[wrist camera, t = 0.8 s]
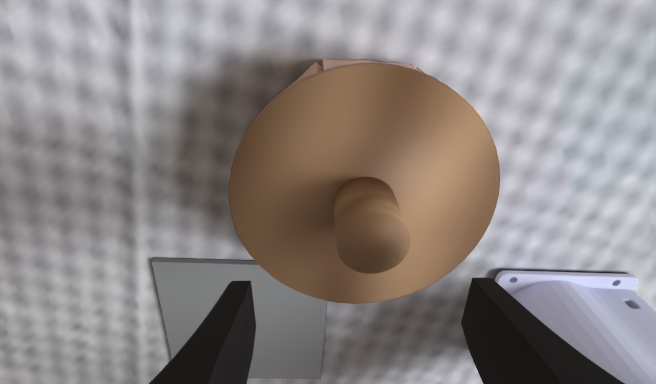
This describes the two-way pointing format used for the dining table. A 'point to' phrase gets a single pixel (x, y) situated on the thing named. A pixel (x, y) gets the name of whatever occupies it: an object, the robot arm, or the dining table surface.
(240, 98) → the dining table surface
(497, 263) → the dining table surface
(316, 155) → the lid
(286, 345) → the mat
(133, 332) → the dining table surface
